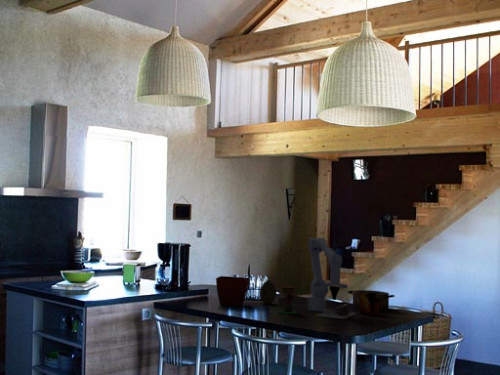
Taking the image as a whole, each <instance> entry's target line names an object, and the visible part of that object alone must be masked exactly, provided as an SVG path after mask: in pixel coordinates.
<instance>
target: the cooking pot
mask: <svg viewBox="0 0 500 375" xmlns="http://www.w3.org/2000/svg"><path fill="white" fill-rule="evenodd" d="M347 293H348V294H350V295H352V309H353V310H356V311H359V306H360V293H374V294H376V299H379V313H383V312H388V311H389V307H390V303H389V302H390V298H395V295H394V294H390V293H389V292H387V291H379V290H368V289H367V290H366V289H365V290H364V289H359V290H356V289H355V290H349V291H348V290H347ZM376 311H377V302H376Z"/></svg>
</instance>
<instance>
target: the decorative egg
mask: <svg viewBox="0 0 500 375" xmlns="http://www.w3.org/2000/svg"><path fill="white" fill-rule="evenodd" d="M259 297H260V300H261V301H262V302H263V303H265V304H266V305H267V304H269V305H270V304H272V303H273V302H275V300H276V299H277V286H276V285H275V283H274V282H273V281H272V280H270V279H266V280H265V281H264V282H263V283H262V285H261V287H260V289H259Z"/></svg>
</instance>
